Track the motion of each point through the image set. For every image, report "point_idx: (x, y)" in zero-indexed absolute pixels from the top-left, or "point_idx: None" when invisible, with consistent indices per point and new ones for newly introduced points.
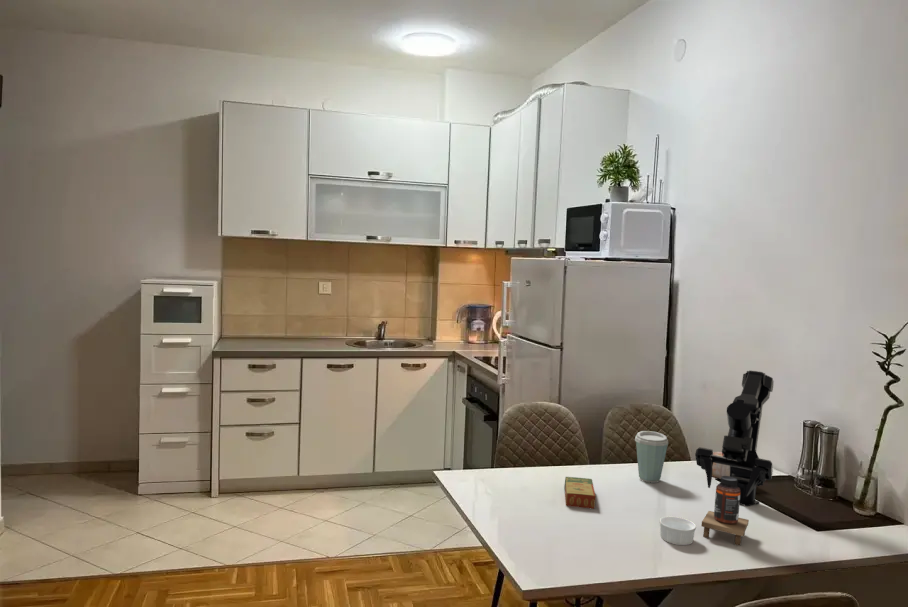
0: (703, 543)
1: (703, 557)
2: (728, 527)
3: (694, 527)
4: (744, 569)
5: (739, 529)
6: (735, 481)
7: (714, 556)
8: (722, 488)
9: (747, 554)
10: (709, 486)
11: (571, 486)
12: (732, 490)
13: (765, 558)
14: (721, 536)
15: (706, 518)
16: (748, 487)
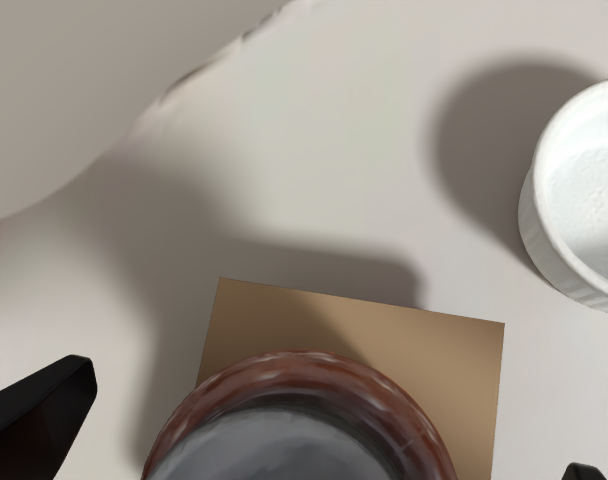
0: (455, 237)
1: (441, 51)
2: (313, 306)
3: (540, 165)
4: (256, 24)
5: (241, 306)
6: (163, 461)
7: (389, 92)
8: (377, 386)
9: (225, 207)
10: (567, 467)
11: None
12: (243, 368)
13: (143, 203)
14: None
15: (476, 423)
16: (3, 409)
